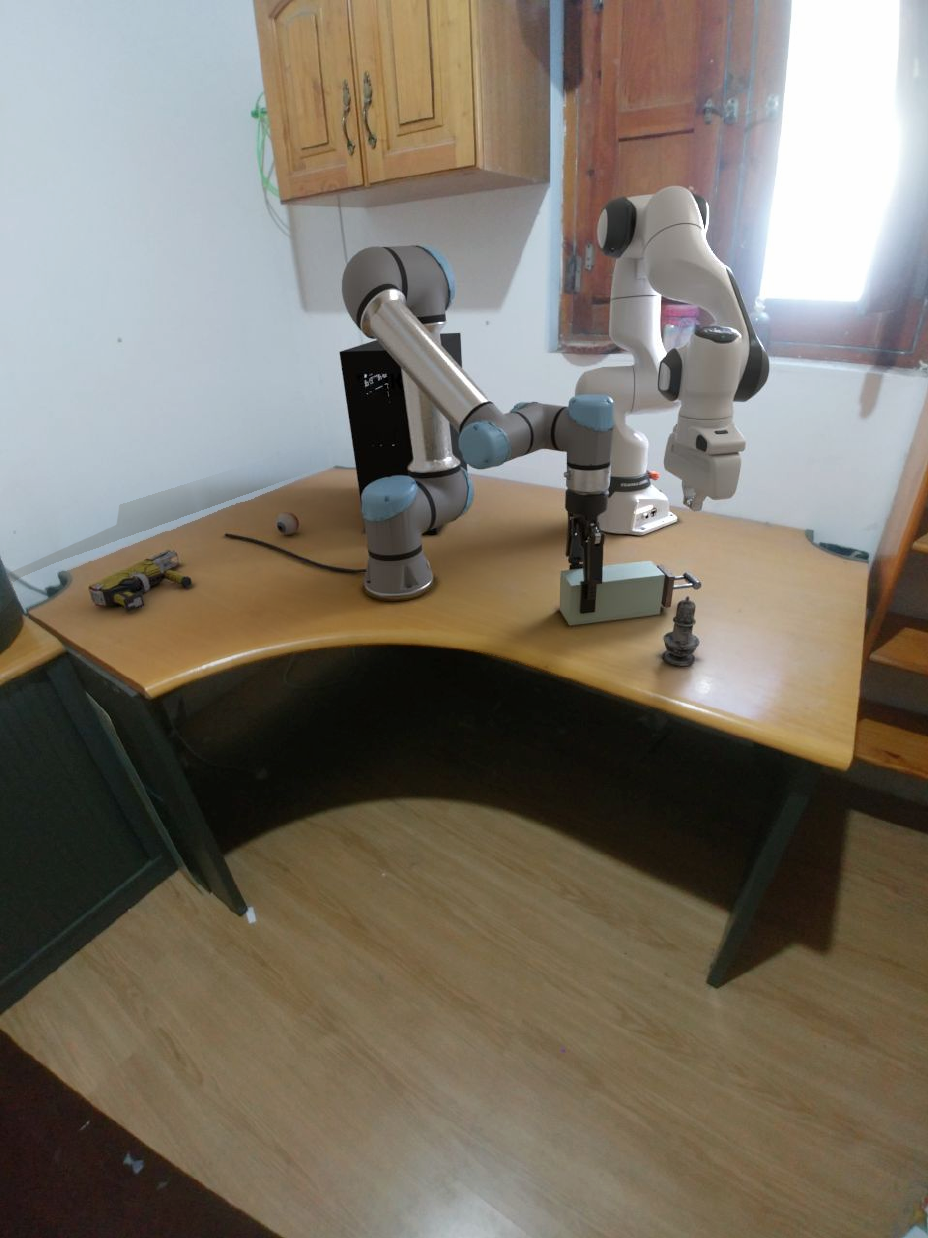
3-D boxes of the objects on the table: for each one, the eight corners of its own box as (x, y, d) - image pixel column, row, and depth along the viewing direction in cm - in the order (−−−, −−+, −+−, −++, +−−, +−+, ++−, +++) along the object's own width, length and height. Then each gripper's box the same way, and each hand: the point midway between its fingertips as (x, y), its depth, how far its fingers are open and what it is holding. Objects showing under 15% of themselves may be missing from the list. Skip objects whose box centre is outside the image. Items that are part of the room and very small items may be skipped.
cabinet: (645, 598, 124) (650, 560, 119) (659, 614, 118) (665, 574, 114) (559, 609, 122) (560, 570, 117) (569, 625, 116) (571, 585, 112)
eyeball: (273, 537, 164) (268, 516, 161) (287, 528, 169) (282, 508, 166) (291, 539, 161) (286, 518, 158) (305, 530, 166) (301, 510, 163)
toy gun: (215, 558, 145) (165, 547, 149) (137, 600, 125) (81, 586, 129) (218, 575, 148) (168, 564, 152) (142, 619, 128) (87, 605, 131)
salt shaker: (698, 668, 101) (709, 605, 95) (662, 665, 103) (670, 603, 97) (694, 649, 106) (704, 588, 100) (659, 647, 108) (667, 587, 102)
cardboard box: (436, 534, 159) (422, 349, 137) (364, 531, 164) (339, 351, 141) (468, 489, 191) (460, 332, 168) (407, 487, 195) (391, 335, 173)
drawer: (686, 591, 124) (691, 561, 120) (699, 603, 119) (705, 572, 115) (577, 604, 121) (578, 574, 118) (586, 617, 116) (588, 586, 113)
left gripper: (551, 474, 114) (548, 583, 126) (584, 509, 97) (578, 630, 109) (589, 471, 115) (583, 579, 127) (629, 504, 98) (618, 625, 110)
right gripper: (659, 420, 113) (651, 492, 120) (715, 447, 95) (702, 529, 102) (691, 417, 114) (682, 488, 121) (752, 443, 96) (737, 525, 103)
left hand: (581, 602), depth 118 cm, fingers closed on cabinet, 7 cm apart
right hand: (691, 507), depth 111 cm, fingers closed
